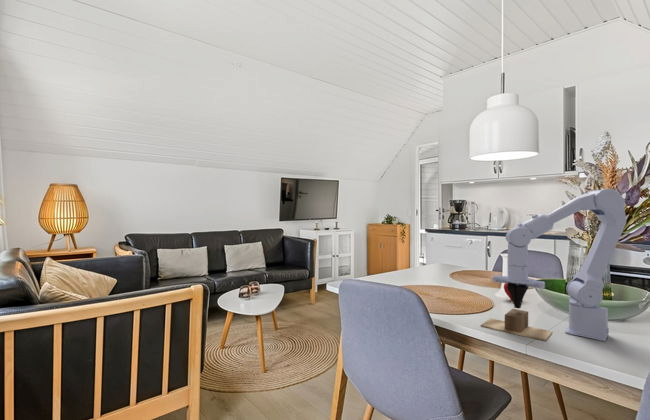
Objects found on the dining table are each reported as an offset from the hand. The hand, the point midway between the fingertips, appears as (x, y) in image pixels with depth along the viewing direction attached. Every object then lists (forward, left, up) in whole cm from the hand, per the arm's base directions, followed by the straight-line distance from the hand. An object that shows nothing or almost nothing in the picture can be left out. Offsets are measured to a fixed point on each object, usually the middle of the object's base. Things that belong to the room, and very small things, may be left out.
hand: (517, 307), depth 109 cm
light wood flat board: (0, +2, -6) cm, 7 cm away
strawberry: (+10, -33, -7) cm, 35 cm away
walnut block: (0, -3, -4) cm, 5 cm away
